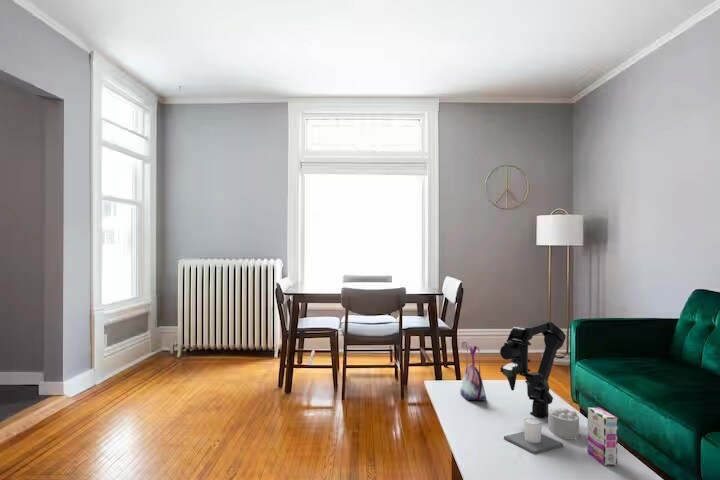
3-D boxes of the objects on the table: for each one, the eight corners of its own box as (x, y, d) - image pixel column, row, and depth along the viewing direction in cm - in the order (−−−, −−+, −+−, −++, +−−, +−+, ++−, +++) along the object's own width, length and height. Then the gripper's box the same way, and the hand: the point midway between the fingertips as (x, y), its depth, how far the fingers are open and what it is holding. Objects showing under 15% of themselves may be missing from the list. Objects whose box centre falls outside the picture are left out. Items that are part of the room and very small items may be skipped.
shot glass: (544, 444, 180) (544, 425, 180) (524, 442, 181) (524, 423, 181) (540, 436, 186) (540, 418, 186) (522, 435, 188) (522, 417, 188)
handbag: (456, 390, 248) (456, 341, 248) (475, 390, 249) (475, 341, 249) (470, 404, 227) (470, 351, 227) (490, 403, 228) (491, 350, 228)
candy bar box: (618, 466, 164) (618, 417, 165) (604, 466, 164) (604, 417, 164) (599, 451, 176) (600, 406, 176) (586, 452, 175) (586, 406, 175)
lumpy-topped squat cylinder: (570, 426, 200) (570, 405, 200) (585, 439, 187) (585, 417, 187) (545, 426, 200) (545, 405, 200) (558, 439, 187) (558, 416, 187)
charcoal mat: (532, 432, 194) (532, 429, 194) (563, 446, 180) (563, 443, 180) (503, 438, 187) (503, 436, 187) (534, 453, 173) (534, 451, 173)
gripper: (490, 353, 210) (490, 389, 210) (523, 363, 193) (523, 402, 193) (510, 351, 215) (509, 386, 215) (543, 360, 198) (543, 398, 198)
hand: (520, 393), depth 205 cm, fingers open, 9 cm apart
